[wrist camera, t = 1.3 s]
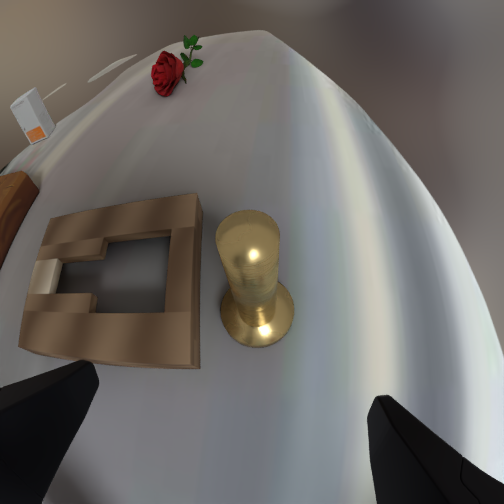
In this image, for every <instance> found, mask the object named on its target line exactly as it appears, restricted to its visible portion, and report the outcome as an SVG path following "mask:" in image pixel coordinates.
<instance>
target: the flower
mask: <svg viewBox="0 0 504 504" xmlns="http://www.w3.org/2000/svg"><path fill="white" fill-rule="evenodd" d="M198 39H199V37H198V38H197V37H196V36H195V35H193V36H192V37H191V38H190V39H188V38H187V37H186V36H185V35H184V41H183V42H184V47H185V49H188V48H190V46H191V48H192V50H191V52H190V58H188V57H187V56H186V55H185V54H184V53H181V54H180V55H181V57H182V59H183V60H184V63H182V61H181V60H179V59H178V58H177V57H175V56H174V55H173V54H172V53H171V54H170V53H168V52H166V51H163V52H161V54H160V56H159V58H158V60H157V62H156V64H155V65H153V66H152V71H151V77H152V79H153V84H154V85H155V87H154V88H155V90H156V91H157V93H158V94H160V95H162V96H169V95H170V94H171V93H172V90H173V88H174V86H175V85H176V84H177V83H178V82H179V80H180V78H181V77H182V79H183V80H184V81H185V83H186V78H185V76H184V70H185V68H186V67H187V66H188V65H189V64H190V63H191V66H192V67H195V68H197V67H199V66H201V65H202V64H203V61H202V60H200V59H194V60H193V61H192V60H191V55H192V51H193V49H195V50H199V49H201V48H202V46H201V45H196V43H197V41H198ZM192 45H194V46H193V47H192ZM195 45H196V46H195ZM191 61H192V62H191Z"/></svg>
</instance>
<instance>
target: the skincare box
mask: <svg viewBox="0 0 504 504" xmlns="http://www.w3.org/2000/svg"><path fill="white" fill-rule="evenodd" d="M10 108H11V109H12V112H13V114H14V115H15V117H16V119H17V121H18V123H19V125H20V126H21V128H22V130H23V132H24V133H25V135H26V137H27V138H28V140H29V142H30V143H31V145H32V144H34V143H36V142H38V141H41V140H43V139H45V138H48V137H49V136H50V134H51V133H52V131H53V130H54V129H55V125H54V123H53V121H52V120H51V117H50V116H49V114H48V112H47V110H46V108H45V106H44V104H43V102H42V100H41V97H40V95H39V93H38V91H37V89H36V88H33V89H32V90H30V91H28V92H27V93H25V94H24V95H22V96H21V97H19V98H18V99H17V100H16V101H15V102H14V103H13V104H12V105H11V106H10Z"/></svg>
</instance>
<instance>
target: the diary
mask: <svg viewBox="0 0 504 504" xmlns="http://www.w3.org/2000/svg"><path fill="white" fill-rule="evenodd" d="M38 193H39V189H38V188H37V187H36V185H35V184H34V183H33V181H32V180H31V179H30V177H29V176H28V175H27V174H26V173H24V172H23V171H19V172H15V173H11V174H7V175H3V176H0V269H1V267H2V264H3V262H4V260H5V257H6V255H7V253H8V250H9V248H10V246H11V244H12V242H13V240H14V237H15V235H16V233H17V231H18V229H19V227H20V225H21V223H22V222H23V220H24V218H25V216H26V214H27V212H28V210H29V209H30V207H31V205H32V203H33V202H34V200H35V198H36V197H37V195H38Z"/></svg>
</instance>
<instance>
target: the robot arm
mask: <svg viewBox="0 0 504 504" xmlns="http://www.w3.org/2000/svg"><path fill="white" fill-rule="evenodd" d="M98 386H99V378H98V376H97V373H96V370H95V367H94V365H93V363H92V362H90V361H87V360H84V359H81V360H78V361H76V362H73V363H70V364H68V365H65V366H62V367H59V368H57V369H54V370H51V371H48V372H45V373H43V374H40V375H37V376H34V377H31V378H28V379H25V380H22V381H19V382H16V383H13V384H10V385H7V386H4V387H2V388H0V504H42V501H43V498H44V497H45V494H46V492H47V490H48V488H49V486H50V484H51V482H52V480H53V478H54V476H55V473H56V471H57V469H58V467H59V465H60V464H61V462H62V460H63V458H64V456H65V454H66V452H67V450H68V448H69V446H70V444H71V442H72V441H73V439H74V437H75V435H76V433H77V431H78V430H79V428H80V426H81V424H82V422H83V420H84V418H85V416H86V414H87V412H88V409H89V407H90V405H91V402H92V400H93V398H94V396H95V393H96V391H97V389H98ZM367 424H368V437H369V453H370V463H371V470H372V475H373V481H374V488H375V494H376V501H377V504H504V484H503V483H501V482H500V481H498V480H496V479H494V478H493V477H491V476H490V475H488V474H486V473H485V472H483V471H482V470H480V469H479V468H478V467H476V466H475V465H474V464H472V463H471V462H470V461H469V460H467V459H466V458H465V457H462V455H461V454H460V453H458V452H457V451H456V450H455V449H453V448H452V447H451V446H450V445H449V444H447V443H446V442H445V441H444V440H442V439H441V438H440V437H439V436H438V435H436V434H435V433H434V432H433V431H432V430H430V429H429V428H428V427H427V426H425V425H424V424H423V423H422V422H421V421H419V420H418V419H417V418H416V417H415V416H413V415H412V414H411V413H410V412H409V411H408V410H406V409H405V408H404V407H403V406H402V405H400V404H399V403H398V402H397V401H396V400H394V399H393V398H392V397H391V396H389V395H380V396H376V397H375V399H374V401H373V403H372V406H371V408H370V410H369V413H368V416H367Z"/></svg>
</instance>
